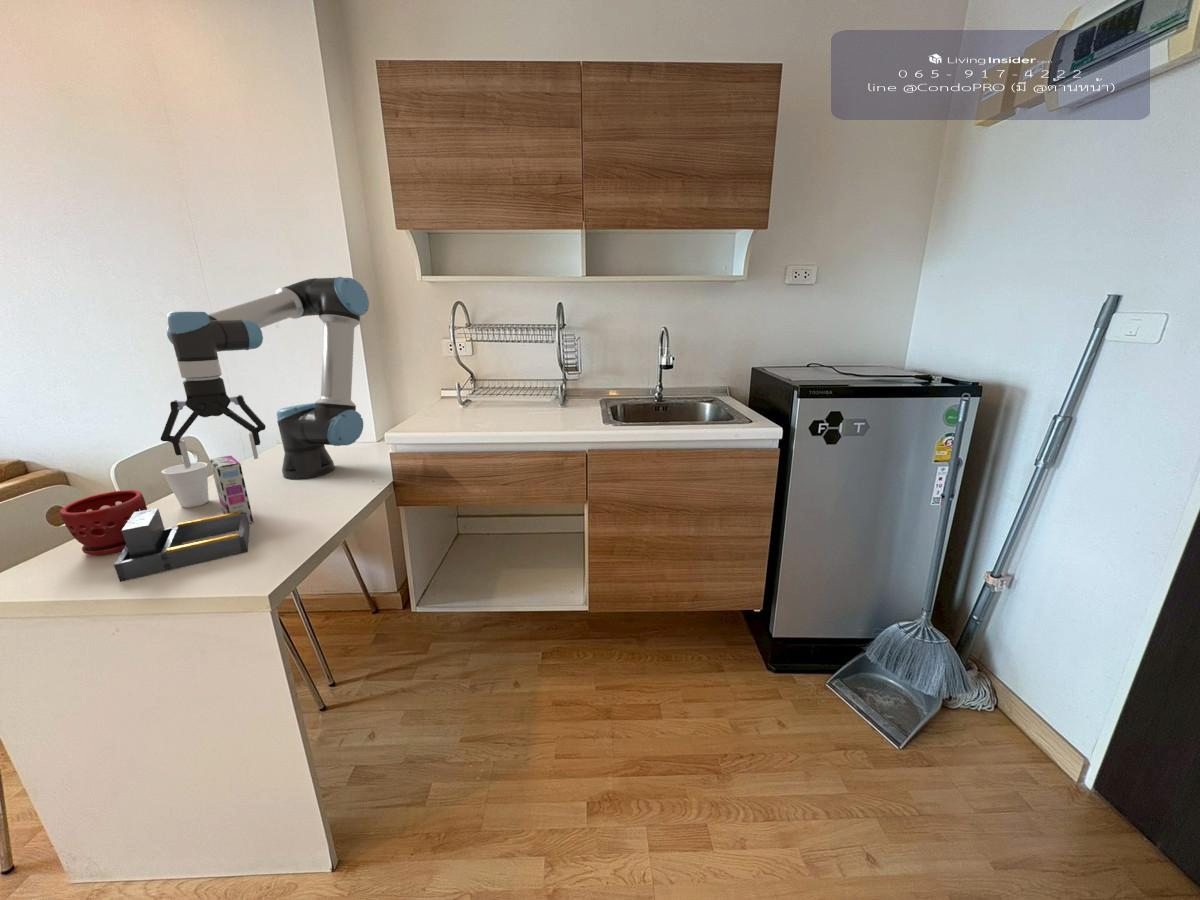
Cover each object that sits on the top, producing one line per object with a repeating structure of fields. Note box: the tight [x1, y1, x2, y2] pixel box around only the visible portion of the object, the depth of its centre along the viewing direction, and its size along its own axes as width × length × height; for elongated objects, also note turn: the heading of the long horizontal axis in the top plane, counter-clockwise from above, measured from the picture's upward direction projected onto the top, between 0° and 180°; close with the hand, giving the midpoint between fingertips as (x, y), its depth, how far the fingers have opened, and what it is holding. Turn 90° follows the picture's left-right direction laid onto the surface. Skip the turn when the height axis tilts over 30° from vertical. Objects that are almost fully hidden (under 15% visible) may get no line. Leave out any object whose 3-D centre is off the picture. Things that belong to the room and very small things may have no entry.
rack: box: [113, 507, 251, 583], centre depth 104 cm, size 21×16×10 cm
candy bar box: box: [209, 455, 255, 525], centre depth 120 cm, size 11×5×16 cm, turn 47°
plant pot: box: [59, 489, 148, 557], centre depth 106 cm, size 13×13×12 cm
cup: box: [161, 461, 210, 509], centre depth 131 cm, size 10×10×11 cm
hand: (223, 462), depth 117 cm, fingers open, 13 cm apart
